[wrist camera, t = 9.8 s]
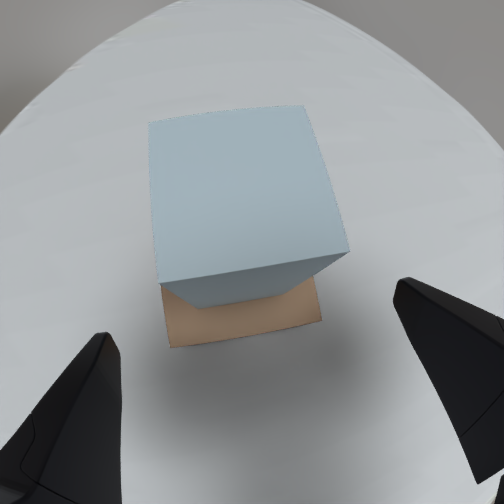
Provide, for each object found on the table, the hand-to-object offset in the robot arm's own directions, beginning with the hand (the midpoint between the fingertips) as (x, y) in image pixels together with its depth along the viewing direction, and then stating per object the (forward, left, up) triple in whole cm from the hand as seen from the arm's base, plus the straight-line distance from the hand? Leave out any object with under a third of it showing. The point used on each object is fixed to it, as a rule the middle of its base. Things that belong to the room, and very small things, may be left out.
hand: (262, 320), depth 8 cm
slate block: (+3, -2, -9) cm, 10 cm away
